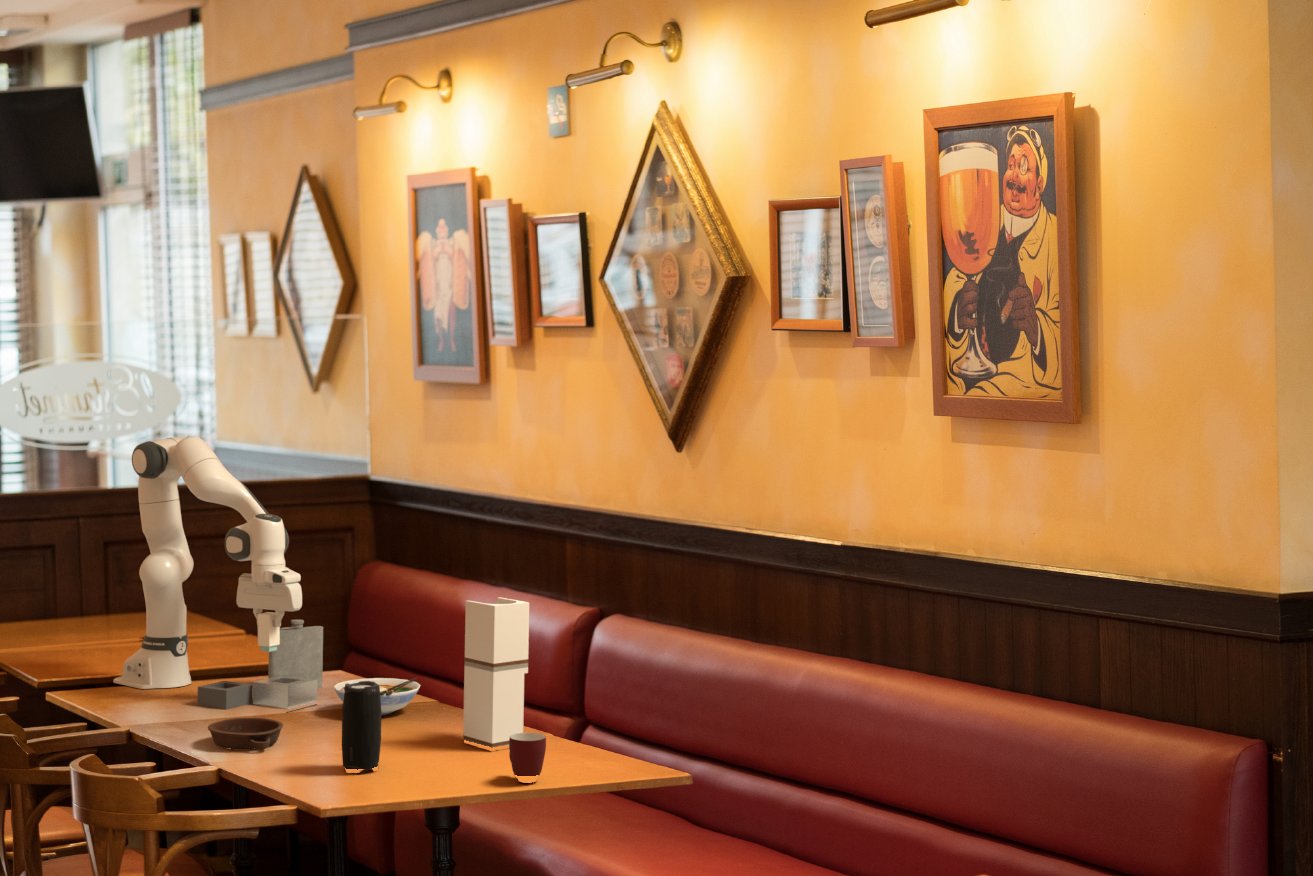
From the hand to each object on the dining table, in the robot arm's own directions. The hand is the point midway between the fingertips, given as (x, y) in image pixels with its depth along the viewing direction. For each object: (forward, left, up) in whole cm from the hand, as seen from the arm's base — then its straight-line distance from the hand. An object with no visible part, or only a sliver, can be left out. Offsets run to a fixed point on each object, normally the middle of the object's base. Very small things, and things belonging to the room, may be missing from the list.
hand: (268, 626), depth 400 cm
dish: (+24, -36, -22) cm, 49 cm away
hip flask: (-10, +23, -22) cm, 34 cm away
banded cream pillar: (+75, -5, -22) cm, 78 cm away
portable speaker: (+63, -42, -22) cm, 79 cm away
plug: (0, 0, -7) cm, 7 cm away
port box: (+3, +3, -22) cm, 22 cm away
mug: (+99, -31, -22) cm, 106 cm away
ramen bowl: (+29, +9, -22) cm, 38 cm away
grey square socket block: (-9, -7, -22) cm, 25 cm away
